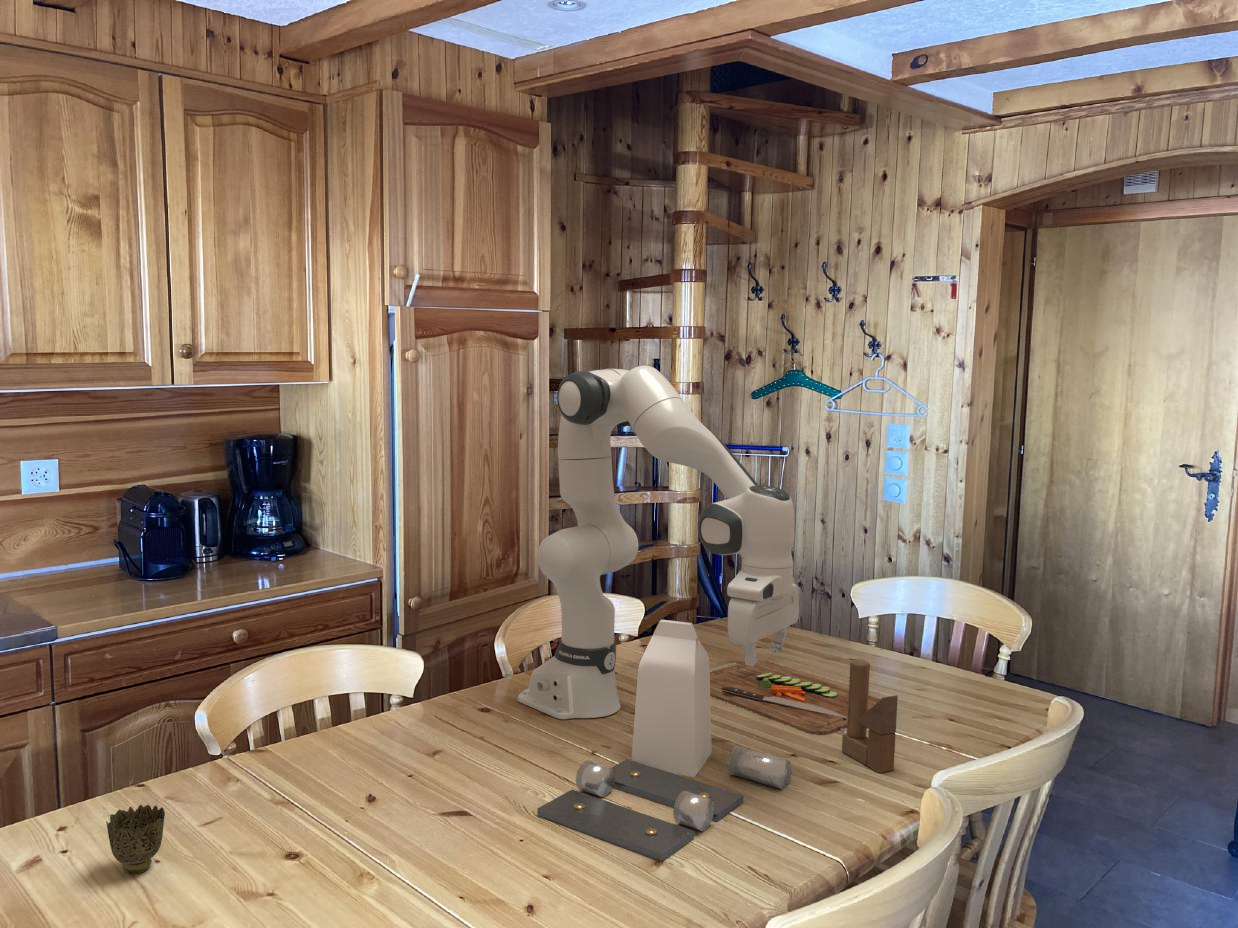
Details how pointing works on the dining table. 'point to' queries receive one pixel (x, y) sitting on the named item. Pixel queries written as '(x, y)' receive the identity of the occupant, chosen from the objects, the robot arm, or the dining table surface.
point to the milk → (673, 702)
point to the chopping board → (784, 696)
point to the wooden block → (869, 723)
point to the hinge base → (634, 828)
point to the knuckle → (760, 767)
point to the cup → (136, 836)
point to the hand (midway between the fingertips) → (764, 658)
